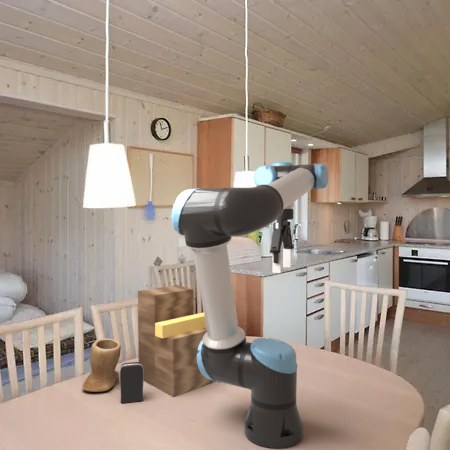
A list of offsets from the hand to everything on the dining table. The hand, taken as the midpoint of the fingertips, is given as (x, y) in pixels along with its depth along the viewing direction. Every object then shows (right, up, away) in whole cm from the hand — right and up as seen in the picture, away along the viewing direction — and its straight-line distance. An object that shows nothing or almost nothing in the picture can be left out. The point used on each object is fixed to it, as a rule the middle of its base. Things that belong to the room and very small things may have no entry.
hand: (282, 270), depth 150 cm
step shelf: (-36, -37, -3) cm, 52 cm away
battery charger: (-48, -38, -17) cm, 63 cm away
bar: (-30, -19, -4) cm, 36 cm away
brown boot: (-59, -37, -6) cm, 71 cm away
